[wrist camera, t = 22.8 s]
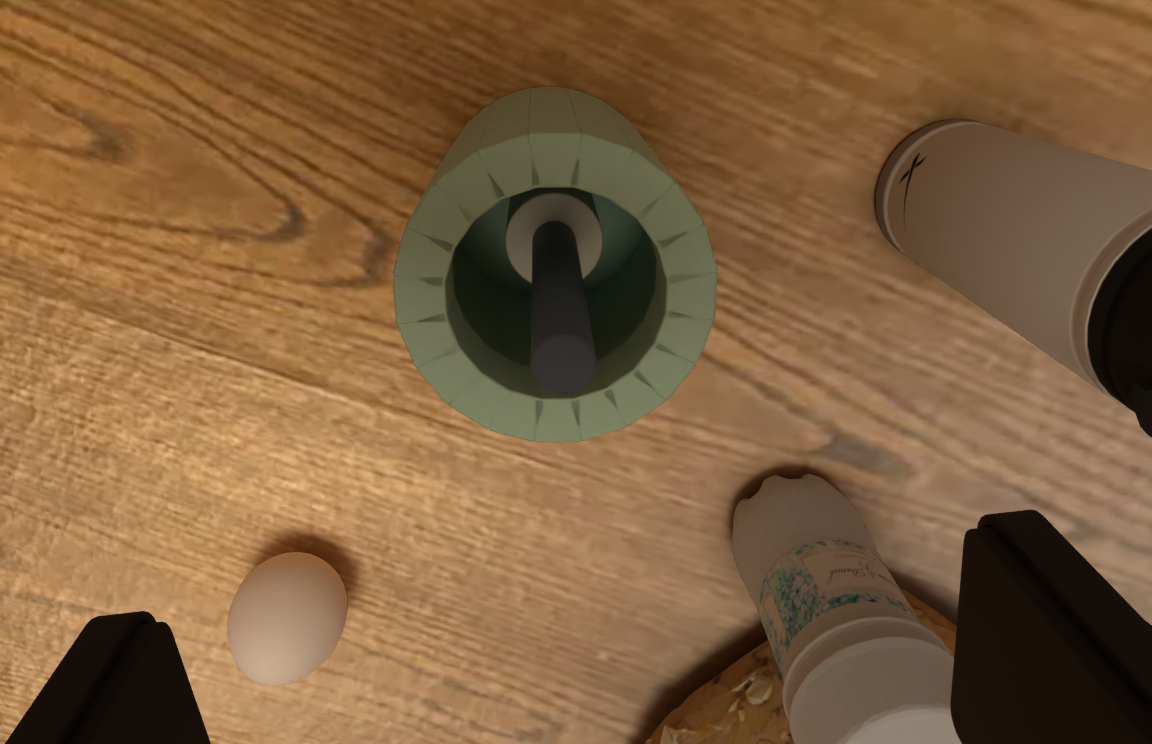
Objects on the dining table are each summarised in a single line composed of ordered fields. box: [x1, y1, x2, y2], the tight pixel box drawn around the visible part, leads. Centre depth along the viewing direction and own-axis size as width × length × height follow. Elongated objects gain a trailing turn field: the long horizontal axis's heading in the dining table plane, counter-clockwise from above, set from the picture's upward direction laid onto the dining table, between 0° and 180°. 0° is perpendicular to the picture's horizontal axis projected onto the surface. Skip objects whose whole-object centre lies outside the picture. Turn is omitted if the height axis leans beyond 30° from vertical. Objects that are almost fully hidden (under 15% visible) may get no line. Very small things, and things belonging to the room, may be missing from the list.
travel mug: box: [875, 119, 1152, 437], centre depth 31 cm, size 6×7×20 cm
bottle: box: [732, 474, 962, 744], centre depth 37 cm, size 7×7×20 cm
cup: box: [393, 87, 718, 442], centre depth 33 cm, size 9×9×14 cm
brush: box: [505, 187, 603, 394], centre depth 30 cm, size 4×4×18 cm
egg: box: [227, 552, 348, 686], centre depth 43 cm, size 5×5×7 cm
